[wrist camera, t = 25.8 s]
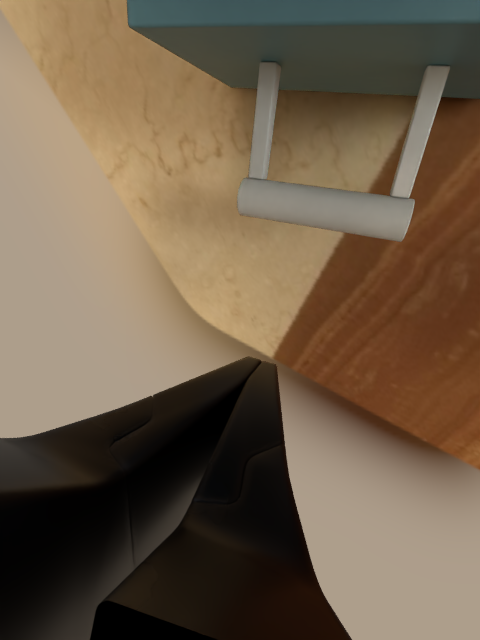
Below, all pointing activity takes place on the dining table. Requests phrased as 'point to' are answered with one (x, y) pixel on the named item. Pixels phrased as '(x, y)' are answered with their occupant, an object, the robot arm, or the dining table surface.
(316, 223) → the open handled drawer
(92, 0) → the dining table surface
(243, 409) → the robot arm
